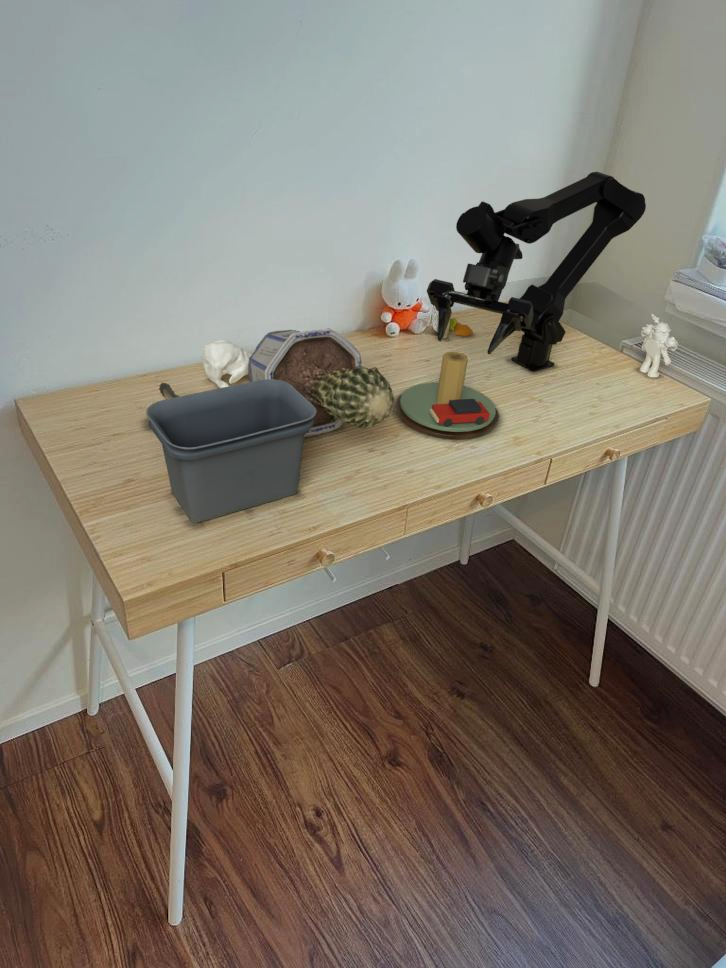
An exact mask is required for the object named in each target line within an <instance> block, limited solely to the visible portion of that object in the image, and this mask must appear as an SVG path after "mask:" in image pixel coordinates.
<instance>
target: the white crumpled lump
mask: <svg viewBox="0 0 726 968" xmlns="http://www.w3.org/2000/svg"><path fill="white" fill-rule="evenodd" d="M252 354H253V353H250V352H249V351H246V349H244V348H242V347H241V346H240V345H238V344H236V343H233V342H232V341H230V340H227V339H215V340H214V341H211V342H208V343H206V344H205V345H204V346H203V349H202V352H201V355H200V358H201V361H202V366H203V370H204V372H205V374H206V377H207V378H208V379H209V380H210V381H211V382H213V383H214V384H215V385H217V387H218V389H219V388H223V387H228V386H230V385H229V384H228V383H227V382H226V381H225V380H222V377H223V376H224V375H226V374H227V375H231V376H230V378H229V379H228V382H229V383H230V384H232V385H233V384H234V383H236V382H238V381H239V380H241V379H242V378H244V377H245V376H249V375H248V362H249V358H250V357H251V355H252Z"/></svg>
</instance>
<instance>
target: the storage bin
mask: <svg viewBox="0 0 726 968" xmlns="http://www.w3.org/2000/svg"><path fill="white" fill-rule="evenodd" d="M179 396H180V397H175V398H170V399H162V400H159V401H156V402H153V403H152V404H150V405H149V406H148V407H147V408H146V410H145V415H146V417H147V419H148V421H149V420H150V427H149V428H150V429H151V430H152V432H153V433H154V435H155V436H156V438H157V440H159V442H160V444H161V447H162V451H163V457H164V460H165V461H164V462H165V465H166V466H165V467H166V470H167V474H168V481H169V485H170V489H171V493H172V496H173V498H175V500H176V502H177V503H178V504H179V506H180V507H181V509H182V510H183V511H184V514H185V515H186V516H187V518H188V520H189V521H190V522H193V523H202V522H206V521H209V520H212V519H216V518H218V517H222V516H225V515H226V516H227V515H229V514H233V513H236V512H239V511H243V510H246V509H250V508H253V507H257V506H260V505H264V504H267V503H271V502H274V501H277V500H280V499H284V498H288V497H291V496H293V495H296V494H297V493H298V491H299V484H300V475H301V466H302V458H303V450H304V441H305V437H304V435H305V432H306V431H308V430H310V429H311V428H312V427H313V425H314V421H313V417H314V416H315V415H316V412H317V411H316V408H315V407H314V406H313V405H312V404H311V403H310V402H309V401H308V400H307V399H306V398H305V397H304V396H303V395H302V394H300V393H299V392H298V391H297V390H296V389H295V388H294V387H293V386H292V385H290V384H289V383H287V382H285V381H281V380H274V379H266V380H259V381H253V382H249V381H248V382H244V383H238V384H234V385H233V384H232V385H229V386H228V387H223V388H219V387H218V388H214V389H209V390H205V391H199V392H195V393H191V394H186V395H185V394H184V395H179Z"/></svg>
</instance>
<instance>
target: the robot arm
mask: <svg viewBox="0 0 726 968" xmlns="http://www.w3.org/2000/svg"><path fill="white" fill-rule="evenodd" d="M595 203H596V204H595ZM593 204H595V206H594V207H593V213H592V220H591V223H590V224H589V226H588V227H587V228H586V230H585V231H584V233H582V235H581V236H580V237H579V239H578V240H577V242H576V243H575V244H574V245H573V247H572V248H571V249H570V250H569V252H568V253H567V255H565V257H564V258H563V260H562V261H561V262H560V264H558V266H557V267H556V269H555V270H554V271H553V272H552V273H551V275H550V276H549V278H548V279H547V280H546V281H545V283H543V284H541V285H539V286H536V285H534V284H530V285H529V286H528V287H527V288H526V290H525V292H524V293H523V295H521V296H520V297H519V298H518V297H513V296H511V297H510V298H509V300H508V302H502V301H499V299H500V297H501V295H502V292H503V290H504V289H505V287H506V285H507V282H508V278H509V273H510V272H511V269H512V266H513V263H514V260H522V259H523V257H524V255H523V252H522V250H521V248H520V244H519V243H516V242H515V240H514V239H512V238H515V239H517V240H518V241H521V242H523V243H525V244H529V245H531V244H534V243H536V242H537V241H539V240H540V239H541V238H543V237H545V236H546V235H547V234H548V233H549V232H551V229H552V228H553V225H555V224H556V223H557V222H559V221H561V220H563V219H565V218H567V217H569V216H571V215H573V214H575V213H577V212H579V211H581V210H583V209H586V208H587V207H589V206H592V205H593ZM646 208H647V203H646V198H645V195H644V194H643V193H641V192H638V191H636V190H633V189H630V188H629V187H627V186H626V185H623V184H621V182H619V181H618V180H617V179H615V177H614V176H612V175H609V174H606V173H603V172H600V171H592V172H590V173H588V174H587V176H585V177H583V178H582V179H580V180H577V181H575V182H572V183H571V184H568V185H566V186H565V187H563V188H561V189H557V190H556V191H554V192H552V193H550V194H548V195H546V196H543V197H538V198H524V199H521V200H518V201H513V202H511V203H509V204H508V205H507V206H505V208H504V209H501V210H498V211H495V209H494V208H493V206H492V205H491V204H490V203H488V202H486V201H484V200H483V201H480V203H479V204H478V206H473V207H471V208H469V209H467V210H466V211H464V212H462V213H461V214H460V216H459V217H458V219H457V221H456V224H455V228H456V232H457V233H458V234H459V236H461V238H462V239H463V241H465V243H466V244H467V245H468V246H469V247H470V248H471V249H472V250H473V251H474V253H476V254H481V255H480V258H479V261H478V262H477V261H476V264H473V263H467V265H466V269H465V271H464V276H463V279H462V283H465V284H464V286H463V287H464V290H465V291H466V293H465V292H461V291H456V290H455V288H454V287H455V286H454V284H453V282H450V281H447V280H446V281H445V280H441V279H437V278H434V279H433V280H431V281H430V282H429V283H428V286H427V288H426V294H427V297H428V299H429V302H430V304H431V305H432V306H433V307H434V308H435V310H436V311H437V313H439V322H438V321H437V322H438V333H437V340H438V342H442V340H443V339H442V338H443V336H444V334H445V331H446V328H447V325H448V323H449V320H450V319H451V318H452V317H451V316H452V314H453V311H452V308H453V307H454V304H460V305H463V306H468V307H471V308H474V309H475V308H476V309H479V310H484V311H488V312H492V313H495V314H500V315H501V318H500V321H499V324H498V326H497V328H496V330H495V332H494V334H493V336H492V339H491V341H490V343H489V345H488V348H487V353H486V354H487V355H491V354H492V353H493V352H494V351H495V350H496V349H497V348H498V347H499V346H500V345H501V344H502V343H503V342H504V341H505V340H506V339H507V338H508V337H510V336H511V335H512V334H513V333H515V332H522V333H523V334H522V335H521V340H520V343H519V346H518V351H517V355H516V356H512V357H511V358H510V360H511V361H512V362H513V363H515V364H518V365H519V366H521V367H523V368H525V369H526V370H528V371H530V372H532V373H535V372H539V371H541V370H545V369H549V368H551V367H555V362H553V361H551V360H550V357H551V353H552V350H553V349H552V348H553V346H556V345H557V343H561V342H562V341H563V338H564V337H565V335H566V333H567V332H566V330H565V328H564V327H563V325H562V324H561V322H560V321H561V318H562V316H563V315H564V310H565V303H566V299H567V297H568V296H569V295H570V293H571V292H572V291H573V290H574V289H575V287H576V286H577V284H579V282H580V281H581V279H582V278H583V277H584V276H585V275H586V273H587V272H588V270H589V269H590V268H591V266H593V264H594V263H595V262H596V260H597V259H598V258H599V256H600V255H601V254H602V252H603V251H604V250H605V249H606V248H607V246H608V245H609V244H610V242H611V241H612V240H613V239H615V238H616V237H618V236H620V235H622V234H624V233H626V232H628V231H630V230H631V229H632V228H633V227H634V225H636V224H637V223H638V222H639V221H640V220H641V218H642V217H643V216H644V214H645V212H646ZM505 234H506V235H505ZM511 237H512V238H511Z"/></svg>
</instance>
